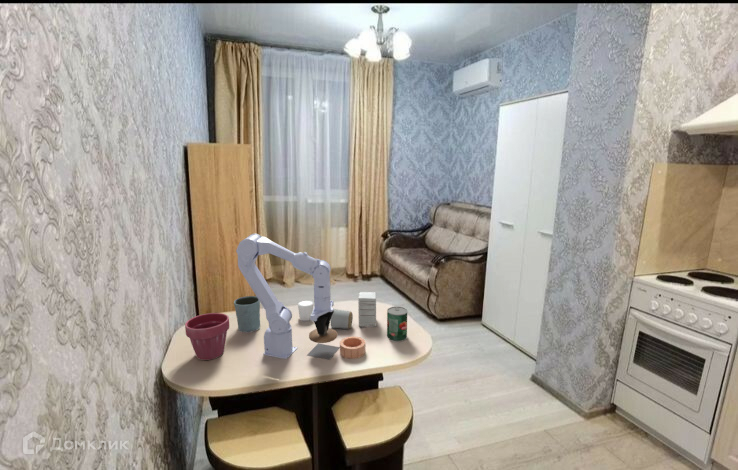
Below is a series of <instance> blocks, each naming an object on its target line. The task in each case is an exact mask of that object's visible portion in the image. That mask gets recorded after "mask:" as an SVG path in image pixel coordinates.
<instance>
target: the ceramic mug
mask: <svg viewBox="0 0 738 470" xmlns="http://www.w3.org/2000/svg"><path fill="white" fill-rule="evenodd" d="M353 317H354V315H353V312H352V311H350V310H346V309H345V310H344V309H338V308H337V309H336V308H334V313H333V315H332V317H331V320H330V328H331V329H343V330H344V329H345V330H347V329H348V330H349V329H350V328H352V325H353V321H354V320H353V319H354V318H353Z"/></svg>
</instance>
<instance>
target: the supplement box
mask: <svg viewBox="0 0 738 470" xmlns="http://www.w3.org/2000/svg"><path fill="white" fill-rule="evenodd" d="M357 298H358V299H357V301H358V302H357V303H358V327H371V328H372V327H376V326H377V292H375V291H369V292H368V291H360V292H359V293H358V297H357Z"/></svg>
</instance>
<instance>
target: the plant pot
mask: <svg viewBox="0 0 738 470" xmlns="http://www.w3.org/2000/svg"><path fill="white" fill-rule="evenodd" d="M184 325H185V326H184V328H185V335H186V337H187V338H189V340H190V343H191V346H192V348H193V351H194V353H195V357H196V358H197V359H198V360H202V361H208V360H214V359H217V358H219V357H221V356H222V355H223V354H224V353H223V352H225V347H226V341H227V333H228V331H229V329H230V318H229V315H227V314H225V313H220V312H211V313H210V312H209V313H204V314H200V315H199V314H198V315H196V316H194V317H191V318H190V319H188V320H187V321H186V322H185V323H184ZM220 355H221V356H220Z"/></svg>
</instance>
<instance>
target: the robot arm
mask: <svg viewBox="0 0 738 470" xmlns="http://www.w3.org/2000/svg"><path fill="white" fill-rule="evenodd" d="M235 251H236V254H237V267H238V269H239V271H240V273H241V274H242V276H243V277H244V279H245V280H246V282H247V283H248V285H249V287H250V288H251V290H252V291H253V293H254V295H255V296H256V297H257V298H258V299H259V301H260V305H261V306H262V307H263V309H264V311H265V318H266V320H267V322H268V327H267V328H266V329H265V331H264V335H263V345H264V346H263V347H264V352H263V356H264V355H265V356H268V357H274V358H279V359H284V360H287V359H288V358H289V357H290V356H291V355H292V354H294V353H295V351H296V350H298V347H297V346H293V328H292V325H291V320H292V318H293V313H292V311H291V310H290V308H288V307H286V306H285V304H284V303H283V302H282V301H279V300H278V298H277V296H276V295H275V293H274V292H273V290H272V289H271V287H270V285H269V284H268V282H267V280H266V279H265V277H264V275H263V274H262V272H261V271H260V269H259V268H258V266H257V264H256V261H257V259H258V257H259V256H262V255H268V254H270V255H273V256H276V257H278V258H280V259H282V260H285V261H287V262H290V263H291V265H292V267H293V268H295V269H297V270H299V271H301V272H304V273H305V274H308V275H310V276H312V278H313V282H314V283H313V302H314V306H313V312H312V314H311V315H310V318H311V320H310V321H311V322H313V323H314V325H315V329H317V332H318V334H321V335H323V334H324V332H325V325H327V330H328V328H329V327H330V325H331V317H332V315H333V313H334V309H335V308H333V307H334V306H335V305H334V300H332V299H331V297H332V296H331V295H332V294H331V277H330V276H331V270H332V268H331V267H332V266H331V264H329V262H328V261H326V260H324V259H320V258H314V257H312V256H310V255H308V252H307V251H303V252H302V251H300V252H294V251H292V250H290V249H288V248H286V247H284V246H283V245H281V244H278V243H276V242H274V241H272V240H271V239H269V238H268V237H266V236H262V235H260V234H258V233H251V234H250V235H248V236H247V237H246V238H244V239H242V240H241V241H240V242H239V243H238V245H237V248H236V250H235Z"/></svg>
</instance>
